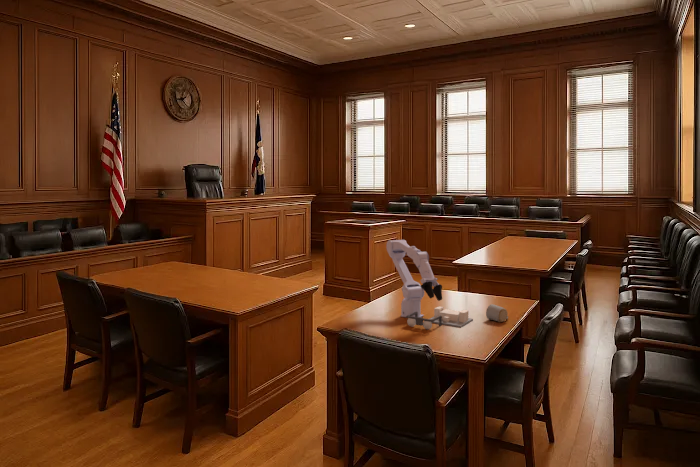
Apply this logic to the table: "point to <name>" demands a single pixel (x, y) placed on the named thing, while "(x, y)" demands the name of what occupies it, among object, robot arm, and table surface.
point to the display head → (451, 317)
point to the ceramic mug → (496, 313)
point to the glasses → (421, 320)
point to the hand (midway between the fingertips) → (436, 298)
